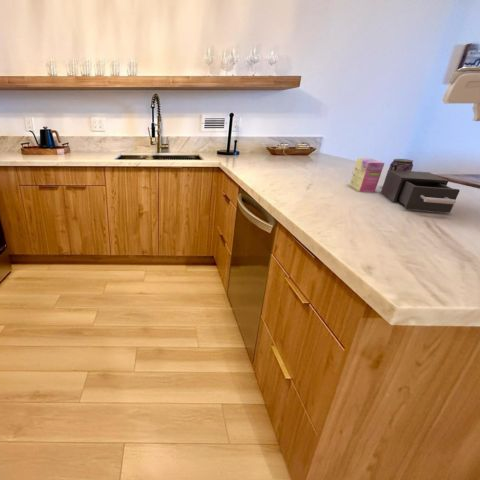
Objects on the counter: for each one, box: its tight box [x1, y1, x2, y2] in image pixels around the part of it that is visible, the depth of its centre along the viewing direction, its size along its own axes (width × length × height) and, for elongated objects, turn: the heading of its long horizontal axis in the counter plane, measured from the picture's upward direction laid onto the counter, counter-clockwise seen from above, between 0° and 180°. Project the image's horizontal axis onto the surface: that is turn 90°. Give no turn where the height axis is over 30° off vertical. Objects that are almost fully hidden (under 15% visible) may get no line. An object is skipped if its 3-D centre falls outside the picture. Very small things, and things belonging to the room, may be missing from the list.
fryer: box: [380, 169, 449, 204], centre depth 103 cm, size 15×13×9 cm
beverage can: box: [388, 158, 414, 171], centre depth 115 cm, size 7×7×12 cm
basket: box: [397, 180, 461, 214], centre depth 93 cm, size 18×11×7 cm, turn 159°
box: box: [348, 157, 385, 193], centre depth 116 cm, size 10×6×12 cm, turn 168°
